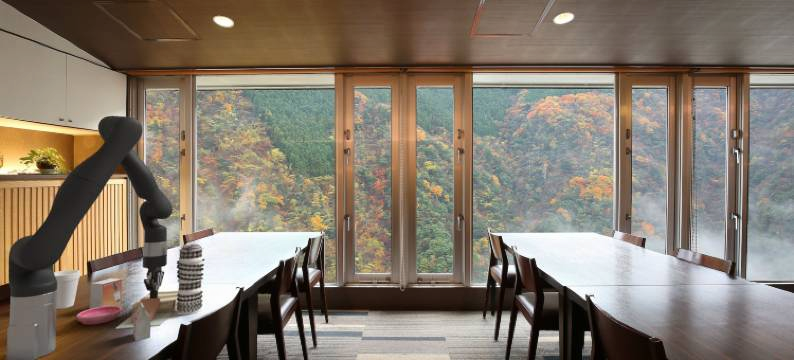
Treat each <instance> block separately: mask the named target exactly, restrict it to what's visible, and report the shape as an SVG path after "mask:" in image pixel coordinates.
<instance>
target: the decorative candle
mask: <svg viewBox="0 0 794 360" xmlns="http://www.w3.org/2000/svg"><path fill="white" fill-rule="evenodd" d="M203 250H204V247H201V244H185V245H182V247H181V249H179V250H178V251H179V257H178V260H177V261H176V264H177V265H176V268H177V269H178V270H176V271H177V272H176V278H177V283H178V290H177V291H178V294H177V296H178V298H177V300H178V302H177V309H176V314H177V315H181V316H183V315H184V316H185V315H186V316H187V315H192V314H193V315H194V314H197V313H199V312H201V311H203V304H202V303H203V299H202V298H203V295H202V294H203V290H202V289H203V287H202V280H203V279H204V277H202V276H204V273H203V272H202V271H204V266H205V263H202V262H204V261H205V258H203Z"/></svg>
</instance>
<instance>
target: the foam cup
mask: <svg viewBox="0 0 794 360" xmlns="http://www.w3.org/2000/svg"><path fill="white" fill-rule="evenodd" d="M54 275H55V277H56V279H57V306H56V310H59V309H60V310H62V309H66V308H69V307H70V308H71V307H73V306H74V304H75V300H76V294H77V290H78V286H79V285H78V284H79V280H80V277H81V270H79V269H70V270H69V269H68V270H60V271H59V270H58V271H54Z"/></svg>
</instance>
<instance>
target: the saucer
mask: <svg viewBox="0 0 794 360" xmlns="http://www.w3.org/2000/svg"><path fill="white" fill-rule="evenodd" d="M122 311H123V307H122V306H102V307H97V308H92V309H90V308H89V309H85V310H82V311H81V312H78V313H77V314H76V320H78V322H80V323H82V325H88V326H89V325H99V324H103V323H107V322H111V321H113V320H115V319H117V317H118V316H119V315H120V314H121V313H122Z"/></svg>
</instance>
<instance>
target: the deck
mask: <svg viewBox="0 0 794 360" xmlns="http://www.w3.org/2000/svg"><path fill="white" fill-rule="evenodd" d="M177 294H178V290H173V291H172V290H169V291H158V298H160V301H161V304H160V306H159V308H158V310H157V312H156V314H159V313H172V314H173V313H174V312H175V311H177V302H178V300H177V298H178V296H177ZM141 299H150V292H149V293H148V294H146V295H144V296H143V297H142V298H140V299H139V300H138V301H136V302H135V303H134V304H132V307H131V308H132V309H131V311H132V312H131V315H132V314H133V313H134V311H135V309H136V307H137V306H138V304H139V302H140V300H141Z"/></svg>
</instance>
